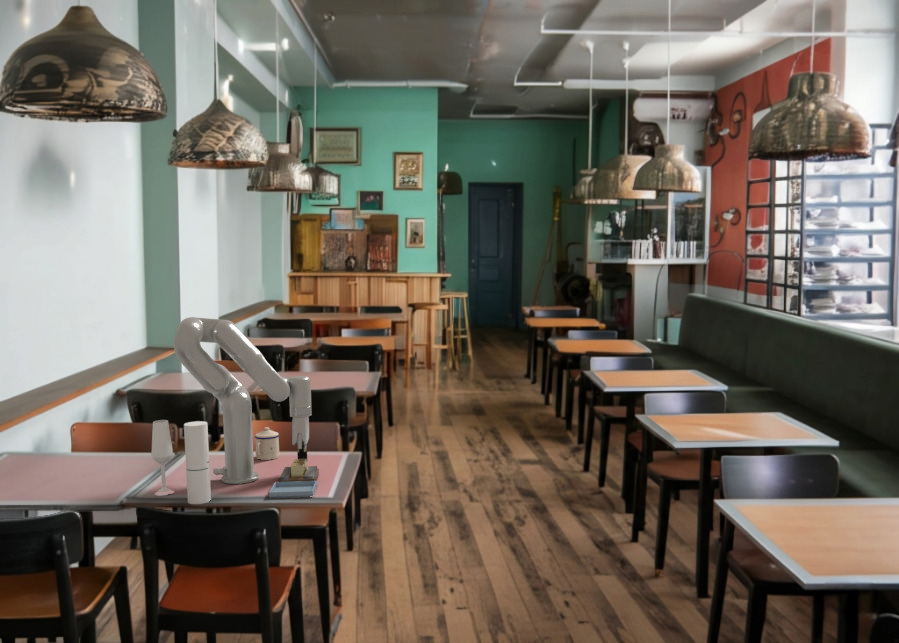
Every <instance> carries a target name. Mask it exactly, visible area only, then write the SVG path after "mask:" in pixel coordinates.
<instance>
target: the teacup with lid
mask: <svg viewBox="0 0 899 643" xmlns="http://www.w3.org/2000/svg"><path fill="white" fill-rule="evenodd" d="M279 436H280V434H279V432H277V431H274V430H272V429H270V427H269V426H267V427H264V428H263V430H261V431H259V432H257V433H256V434H254V438H255V457H256V459H257V460H258V459H261V460H260V461H272V460H271V459H273V460H276V459H278V458H280V443H279V439H280V438H279Z"/></svg>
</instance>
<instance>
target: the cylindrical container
mask: <svg viewBox="0 0 899 643" xmlns="http://www.w3.org/2000/svg"><path fill="white" fill-rule="evenodd" d="M208 428H209V427H208V422H207V421H204V420H203V421H202V420H201V421H200V420H196V421H188V422H185V423H184V424H183V430H184V431H183V433H184V434H183V435H184V451H185V452H184V455H185V473H186V487H187V488H186V489H187V490H186V491H187V494H186V495H187V503H188V504H190V505H203V504H207V503H209V501H210V500H211V501H212V491H211V490H212V489H211V469H210V468H211V467H210V450H209V446H210V445H209V432H208V431H209V429H208ZM211 501H210V502H211Z"/></svg>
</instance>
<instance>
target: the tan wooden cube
mask: <svg viewBox="0 0 899 643" xmlns="http://www.w3.org/2000/svg"><path fill="white" fill-rule="evenodd" d="M290 467H291V478H297V477H304V475H305V466H304V463H293V462H292V464H291V465H290Z"/></svg>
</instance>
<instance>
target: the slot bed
mask: <svg viewBox="0 0 899 643" xmlns="http://www.w3.org/2000/svg"><path fill="white" fill-rule="evenodd" d="M318 476H319V477H320V468H318V465H309V466H307V471H306V473H305V475H304V477H297V478H291V466H285V467H284V469H283V471H282V472H281V474H280V476H279V477H278V480H277V482H293V481H316V480H317V481H318V479H319V477H318ZM317 478H318V479H317Z"/></svg>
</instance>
